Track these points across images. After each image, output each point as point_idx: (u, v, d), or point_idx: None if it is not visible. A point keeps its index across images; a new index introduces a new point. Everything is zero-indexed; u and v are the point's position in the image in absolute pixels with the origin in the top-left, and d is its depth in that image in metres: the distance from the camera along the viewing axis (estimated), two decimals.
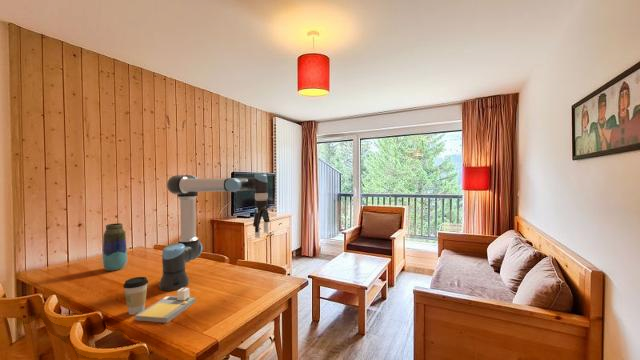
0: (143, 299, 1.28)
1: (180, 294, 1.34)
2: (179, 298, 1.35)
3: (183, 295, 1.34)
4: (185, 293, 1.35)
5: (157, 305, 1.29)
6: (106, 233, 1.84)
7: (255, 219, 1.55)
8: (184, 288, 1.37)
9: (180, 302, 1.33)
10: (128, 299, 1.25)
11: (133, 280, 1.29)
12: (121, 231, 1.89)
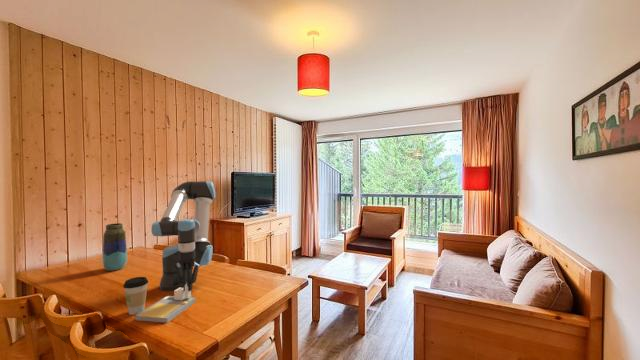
0: (143, 299, 1.28)
1: (177, 294, 1.35)
2: (176, 298, 1.35)
3: (180, 295, 1.34)
4: (182, 293, 1.35)
5: (157, 305, 1.29)
6: (106, 233, 1.84)
7: None
8: (181, 288, 1.37)
9: (180, 302, 1.33)
10: (128, 299, 1.25)
11: (133, 280, 1.29)
12: (121, 231, 1.89)
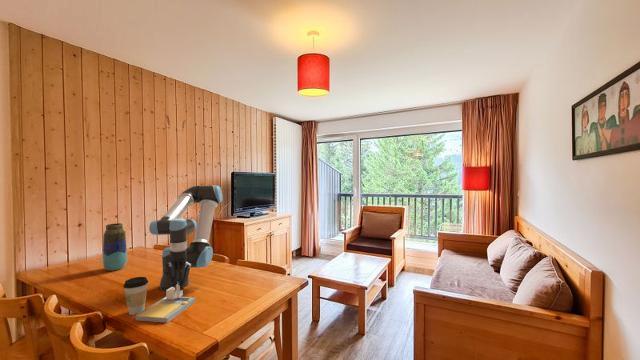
0: (143, 299, 1.28)
1: (169, 293, 1.35)
2: (168, 297, 1.35)
3: (172, 294, 1.35)
4: (174, 292, 1.36)
5: (157, 305, 1.29)
6: (106, 233, 1.84)
7: None
8: (173, 287, 1.38)
9: (180, 302, 1.33)
10: (128, 299, 1.25)
11: (133, 280, 1.29)
12: (121, 231, 1.89)
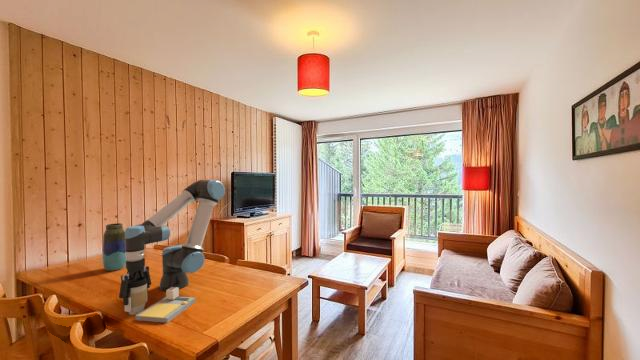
0: (143, 299, 1.28)
1: (169, 293, 1.35)
2: (168, 297, 1.35)
3: (172, 294, 1.35)
4: (174, 292, 1.36)
5: (157, 305, 1.29)
6: (106, 233, 1.84)
7: (121, 289, 1.21)
8: (173, 287, 1.38)
9: (180, 302, 1.33)
10: None
11: None
12: (121, 231, 1.89)
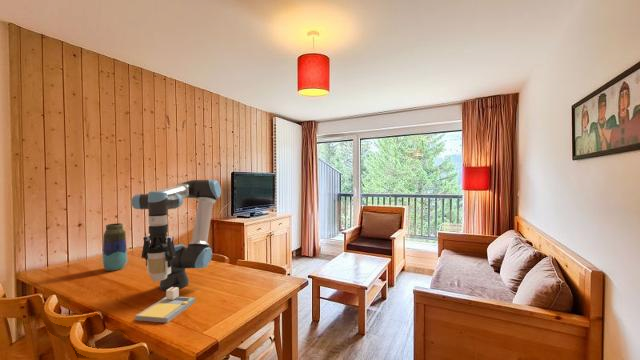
0: (153, 268, 1.21)
1: (169, 293, 1.35)
2: (168, 297, 1.35)
3: (172, 294, 1.35)
4: (174, 292, 1.36)
5: (157, 305, 1.29)
6: (106, 233, 1.84)
7: None
8: (173, 287, 1.38)
9: (180, 302, 1.33)
10: None
11: None
12: (121, 231, 1.89)
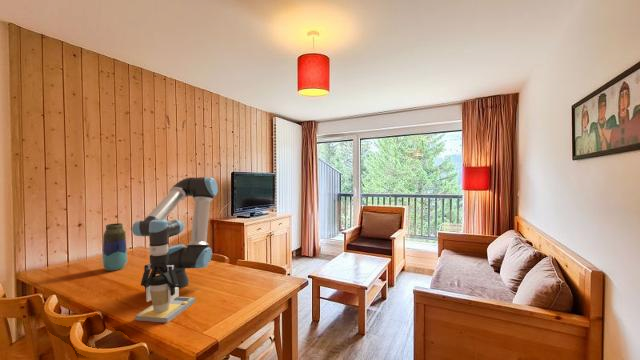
0: (155, 300, 1.21)
1: None
2: None
3: None
4: None
5: None
6: (106, 233, 1.84)
7: None
8: None
9: (180, 302, 1.33)
10: None
11: (162, 276, 1.26)
12: (121, 231, 1.89)
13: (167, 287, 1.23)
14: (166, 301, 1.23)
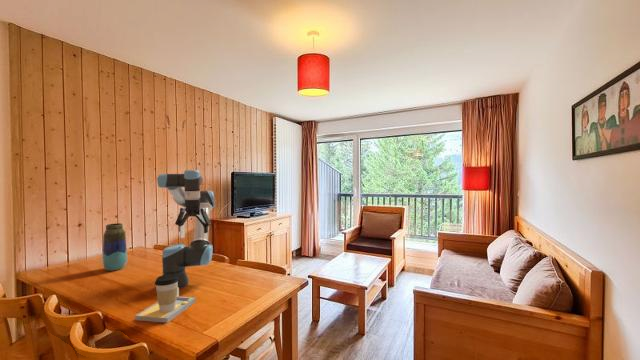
0: (161, 300, 1.21)
1: None
2: None
3: None
4: None
5: (157, 305, 1.29)
6: (106, 233, 1.84)
7: None
8: None
9: (180, 302, 1.33)
10: None
11: (169, 276, 1.26)
12: (121, 231, 1.89)
13: (173, 287, 1.23)
14: (172, 301, 1.24)
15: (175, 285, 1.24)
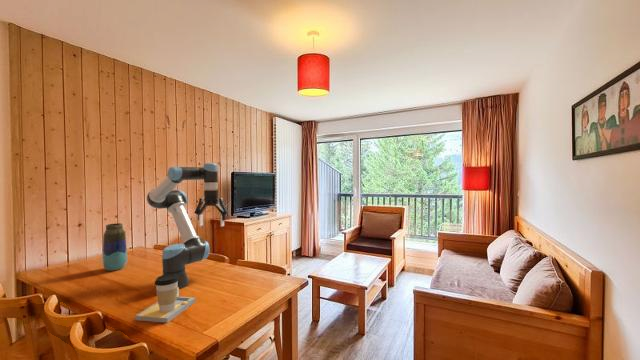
0: (161, 300, 1.22)
1: None
2: None
3: None
4: None
5: (157, 305, 1.29)
6: (106, 233, 1.84)
7: None
8: None
9: (180, 302, 1.33)
10: None
11: (169, 276, 1.26)
12: (121, 231, 1.89)
13: (173, 287, 1.23)
14: (172, 301, 1.24)
15: (175, 285, 1.24)
